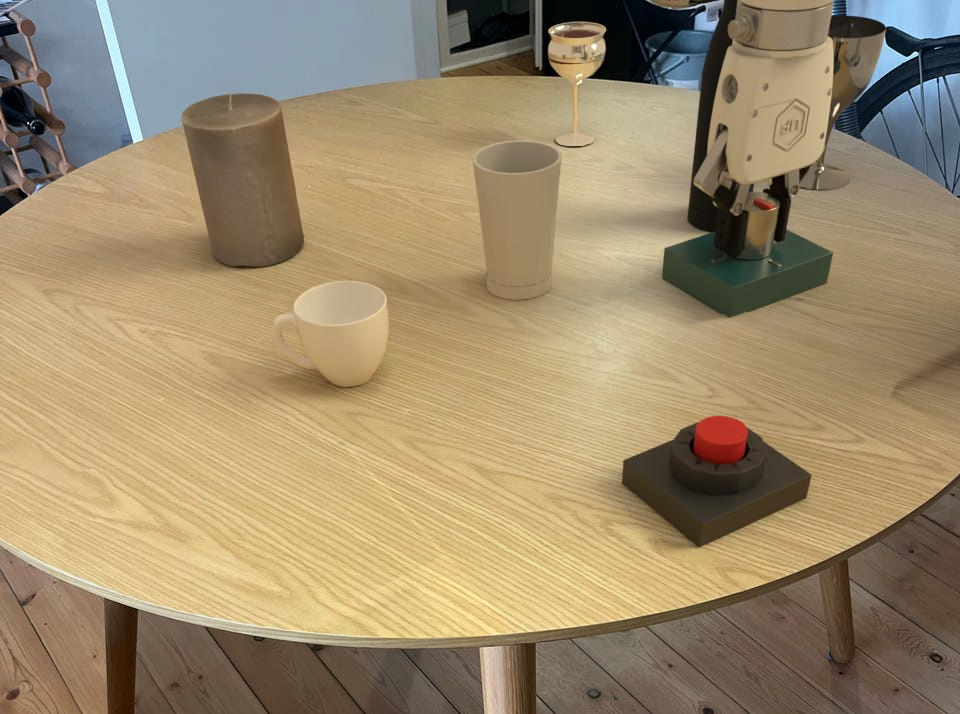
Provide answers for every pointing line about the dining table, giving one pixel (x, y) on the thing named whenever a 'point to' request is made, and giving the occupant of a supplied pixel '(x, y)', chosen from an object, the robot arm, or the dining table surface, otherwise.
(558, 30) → the wineglass
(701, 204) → the wine bottle
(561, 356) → the dining table surface
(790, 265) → the dial panel
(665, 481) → the red button base
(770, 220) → the dial
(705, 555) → the dining table surface
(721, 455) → the red button
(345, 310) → the cup
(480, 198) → the cup
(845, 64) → the metal goblet
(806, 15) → the robot arm
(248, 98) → the pillar candle
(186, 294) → the dining table surface
